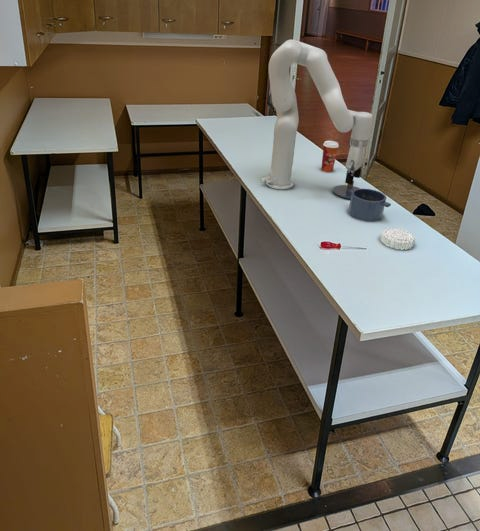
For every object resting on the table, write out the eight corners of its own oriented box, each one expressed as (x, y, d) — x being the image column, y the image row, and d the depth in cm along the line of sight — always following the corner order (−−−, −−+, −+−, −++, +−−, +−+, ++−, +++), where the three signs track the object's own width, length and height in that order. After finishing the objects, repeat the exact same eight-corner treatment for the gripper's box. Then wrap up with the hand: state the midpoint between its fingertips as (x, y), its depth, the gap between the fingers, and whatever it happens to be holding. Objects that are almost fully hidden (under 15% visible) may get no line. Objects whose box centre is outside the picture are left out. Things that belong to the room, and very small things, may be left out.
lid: (353, 203, 214) (355, 190, 211) (325, 192, 223) (327, 179, 220) (371, 195, 224) (374, 182, 221) (344, 184, 232) (346, 172, 229)
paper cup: (325, 173, 244) (329, 145, 237) (316, 168, 250) (320, 140, 242) (338, 171, 247) (342, 144, 240) (328, 166, 253) (333, 139, 246)
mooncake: (408, 253, 178) (410, 244, 176) (375, 243, 183) (377, 234, 181) (416, 241, 187) (419, 232, 185) (385, 231, 192) (387, 223, 190)
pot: (375, 226, 195) (380, 207, 191) (336, 210, 206) (340, 191, 202) (393, 217, 204) (398, 198, 200) (355, 202, 215) (358, 184, 211)
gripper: (357, 136, 219) (350, 173, 228) (343, 145, 206) (337, 184, 215) (373, 139, 216) (366, 176, 225) (361, 149, 203) (354, 188, 212)
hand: (352, 180), depth 220 cm, fingers open, 9 cm apart
